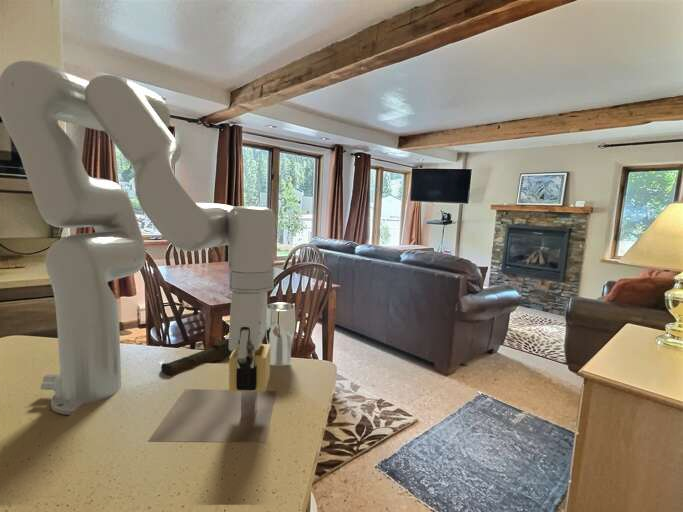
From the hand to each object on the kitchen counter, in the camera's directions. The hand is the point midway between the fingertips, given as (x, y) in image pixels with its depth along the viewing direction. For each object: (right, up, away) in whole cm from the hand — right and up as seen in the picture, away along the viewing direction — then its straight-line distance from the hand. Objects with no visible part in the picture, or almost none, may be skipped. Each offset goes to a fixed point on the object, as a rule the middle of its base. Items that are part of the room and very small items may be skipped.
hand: (250, 378), depth 65 cm
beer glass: (+1, -5, +23) cm, 24 cm away
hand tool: (-17, -5, +22) cm, 28 cm away
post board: (-5, -8, +1) cm, 10 cm away
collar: (0, -1, 0) cm, 1 cm away
